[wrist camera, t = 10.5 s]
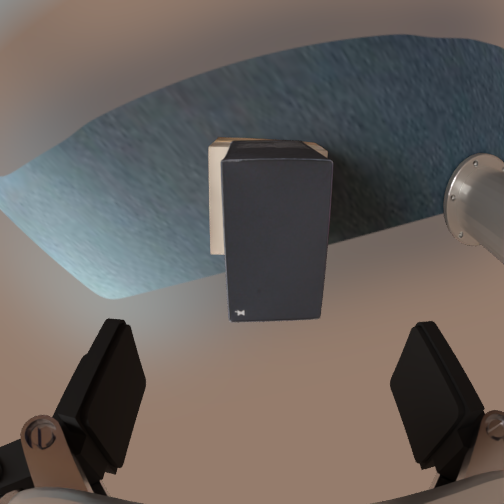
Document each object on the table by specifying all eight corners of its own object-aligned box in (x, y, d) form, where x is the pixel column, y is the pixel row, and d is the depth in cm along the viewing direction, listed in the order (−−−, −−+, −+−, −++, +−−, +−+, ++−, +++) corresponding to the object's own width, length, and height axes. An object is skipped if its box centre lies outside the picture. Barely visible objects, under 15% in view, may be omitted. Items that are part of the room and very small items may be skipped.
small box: (303, 253, 30) (324, 323, 21) (233, 254, 30) (225, 326, 21) (307, 139, 25) (339, 160, 16) (228, 139, 25) (214, 160, 16)
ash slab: (319, 145, 29) (327, 151, 26) (310, 241, 33) (316, 256, 30) (213, 141, 29) (208, 147, 26) (214, 238, 33) (210, 254, 30)
